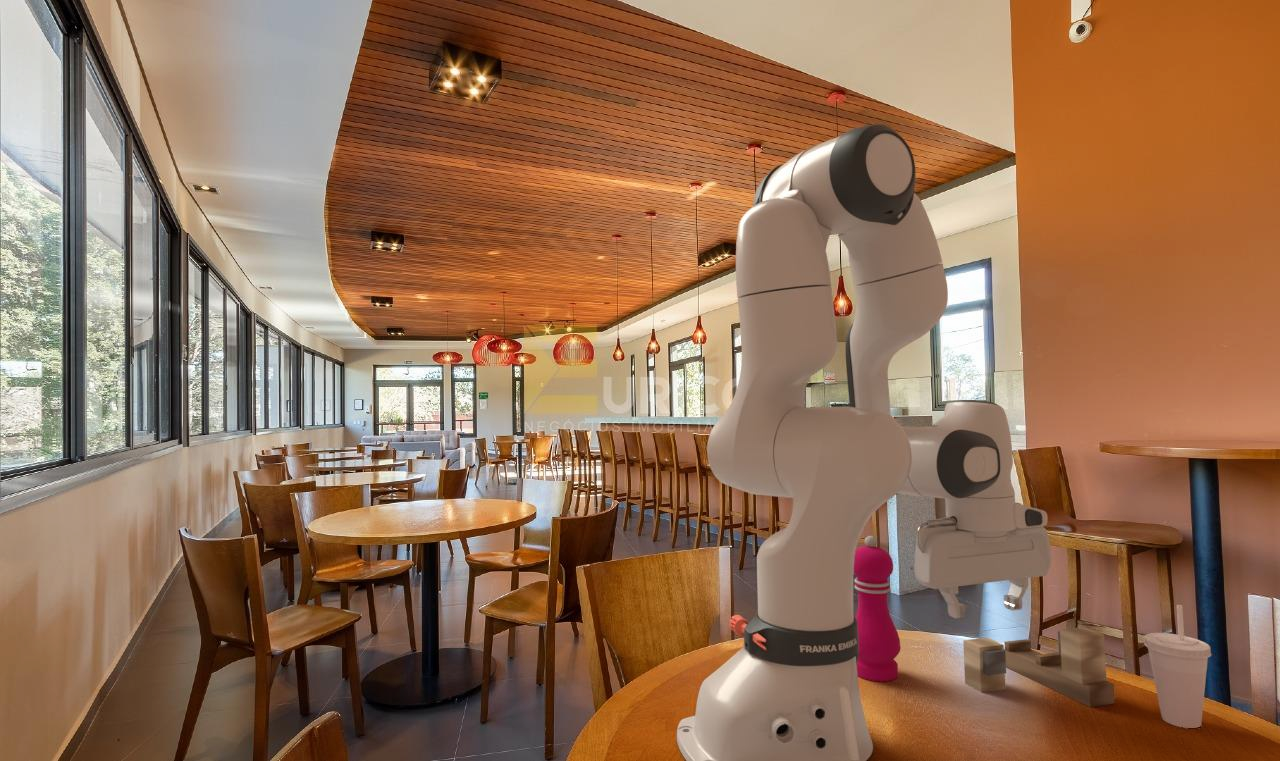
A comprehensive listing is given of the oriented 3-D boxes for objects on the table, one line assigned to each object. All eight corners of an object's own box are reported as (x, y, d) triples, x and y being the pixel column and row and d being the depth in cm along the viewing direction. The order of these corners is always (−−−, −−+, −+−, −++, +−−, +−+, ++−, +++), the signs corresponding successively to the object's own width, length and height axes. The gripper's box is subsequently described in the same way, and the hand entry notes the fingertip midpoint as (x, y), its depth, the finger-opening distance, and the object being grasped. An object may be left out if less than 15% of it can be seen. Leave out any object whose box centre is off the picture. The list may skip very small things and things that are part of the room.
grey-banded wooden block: (985, 694, 87) (983, 649, 87) (965, 683, 90) (963, 640, 91) (1010, 691, 88) (1008, 646, 88) (988, 680, 91) (987, 637, 92)
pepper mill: (893, 687, 89) (888, 542, 90) (842, 675, 94) (838, 537, 95) (907, 670, 95) (902, 534, 96) (858, 660, 99) (854, 530, 101)
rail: (1090, 707, 83) (1086, 639, 83) (1004, 666, 96) (1001, 608, 97) (1114, 703, 84) (1111, 636, 84) (1026, 663, 97) (1023, 606, 98)
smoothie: (1229, 736, 75) (1222, 614, 76) (1167, 731, 76) (1160, 611, 77) (1194, 711, 81) (1187, 599, 82) (1136, 707, 82) (1130, 597, 83)
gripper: (932, 524, 85) (937, 629, 85) (1057, 512, 90) (1063, 611, 90) (902, 516, 91) (907, 614, 91) (1020, 505, 96) (1026, 598, 96)
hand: (985, 612), depth 90 cm, fingers open, 8 cm apart
